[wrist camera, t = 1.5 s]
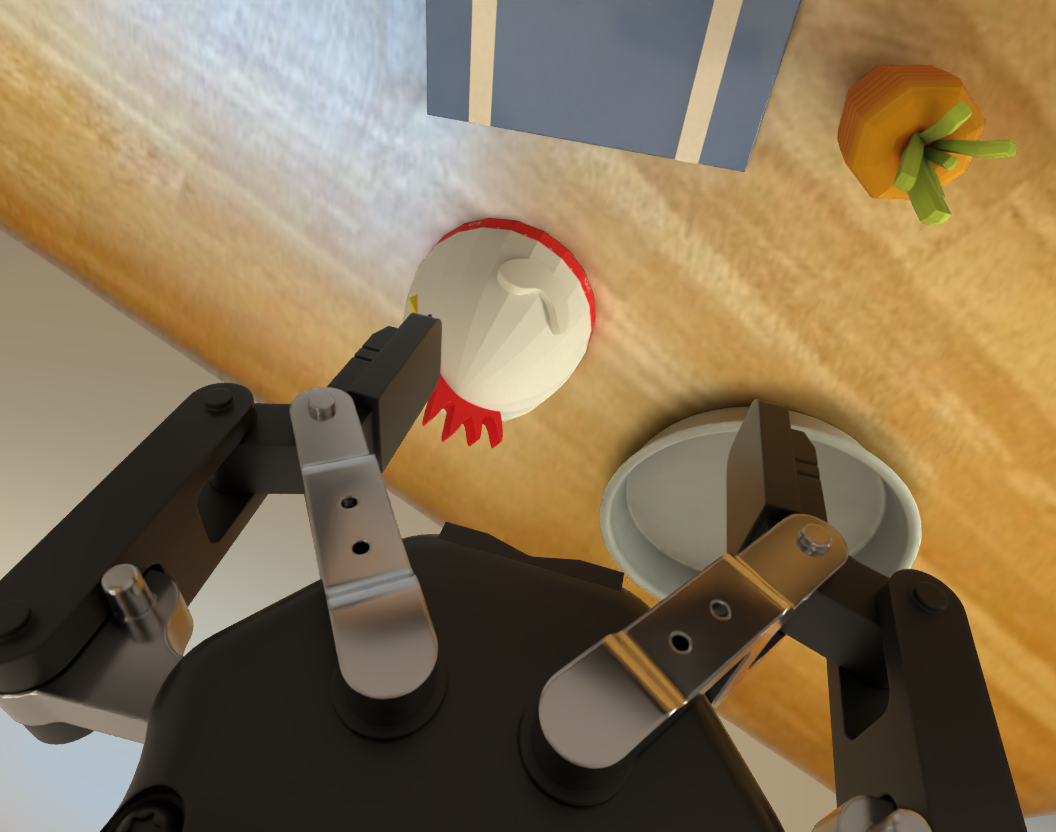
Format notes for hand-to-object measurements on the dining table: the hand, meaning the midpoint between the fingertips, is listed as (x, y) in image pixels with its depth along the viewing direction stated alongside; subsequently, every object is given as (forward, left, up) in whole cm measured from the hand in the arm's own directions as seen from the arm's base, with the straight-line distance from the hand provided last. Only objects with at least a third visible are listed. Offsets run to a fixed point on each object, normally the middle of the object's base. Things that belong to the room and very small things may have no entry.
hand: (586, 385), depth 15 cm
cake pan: (+29, +14, -28) cm, 43 cm away
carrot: (-3, +10, -28) cm, 30 cm away
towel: (-3, -5, -27) cm, 28 cm away
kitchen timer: (+15, -9, -28) cm, 32 cm away
